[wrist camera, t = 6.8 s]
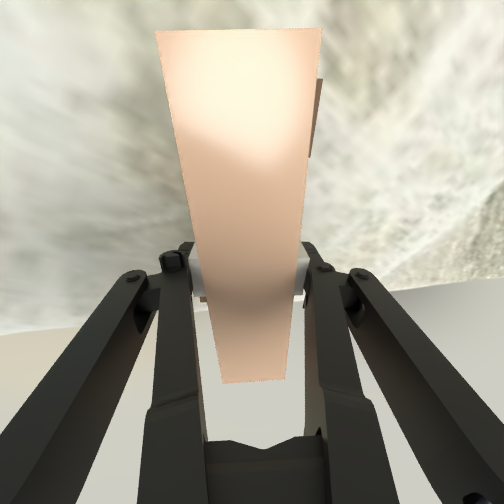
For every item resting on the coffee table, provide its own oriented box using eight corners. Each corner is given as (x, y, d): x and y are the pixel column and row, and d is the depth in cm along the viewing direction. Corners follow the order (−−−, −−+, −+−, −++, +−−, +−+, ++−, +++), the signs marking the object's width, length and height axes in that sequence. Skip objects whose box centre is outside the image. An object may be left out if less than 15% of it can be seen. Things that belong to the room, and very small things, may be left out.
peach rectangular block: (227, 308, 23) (222, 383, 16) (199, 81, 13) (154, 30, 6) (271, 305, 23) (284, 379, 17) (278, 79, 13) (322, 28, 6)
